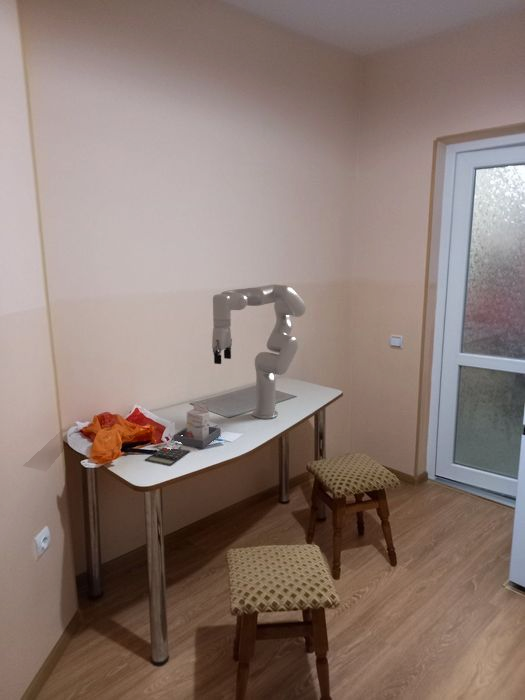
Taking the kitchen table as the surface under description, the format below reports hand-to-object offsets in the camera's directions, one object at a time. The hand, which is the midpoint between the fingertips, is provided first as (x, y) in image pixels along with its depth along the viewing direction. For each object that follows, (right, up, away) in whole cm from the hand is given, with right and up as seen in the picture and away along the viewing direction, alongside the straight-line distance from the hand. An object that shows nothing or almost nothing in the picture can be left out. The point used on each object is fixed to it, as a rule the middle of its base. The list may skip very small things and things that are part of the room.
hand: (222, 361), depth 224 cm
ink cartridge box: (-10, -33, -7) cm, 35 cm away
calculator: (-20, -37, -25) cm, 49 cm away
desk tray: (-10, -33, -7) cm, 36 cm away
